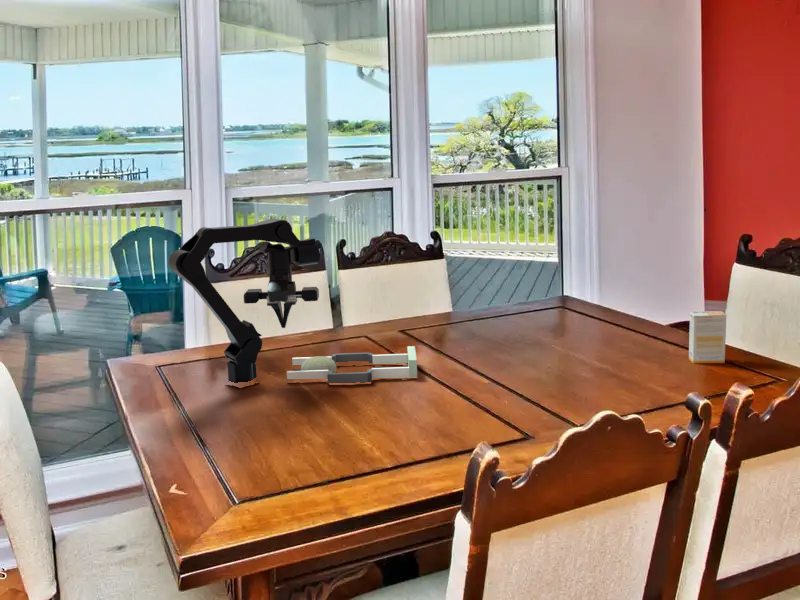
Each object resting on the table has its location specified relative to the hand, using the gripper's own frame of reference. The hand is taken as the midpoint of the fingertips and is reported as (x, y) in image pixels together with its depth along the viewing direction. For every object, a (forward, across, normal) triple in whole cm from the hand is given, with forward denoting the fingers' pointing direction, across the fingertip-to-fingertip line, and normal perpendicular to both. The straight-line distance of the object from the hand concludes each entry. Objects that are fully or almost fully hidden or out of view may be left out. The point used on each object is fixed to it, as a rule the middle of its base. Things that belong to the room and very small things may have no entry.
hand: (283, 327), depth 215 cm
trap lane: (+13, +16, 0) cm, 21 cm away
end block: (+13, +33, 0) cm, 35 cm away
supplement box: (+13, +110, -1) cm, 111 cm away
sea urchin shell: (+13, +8, 0) cm, 16 cm away
